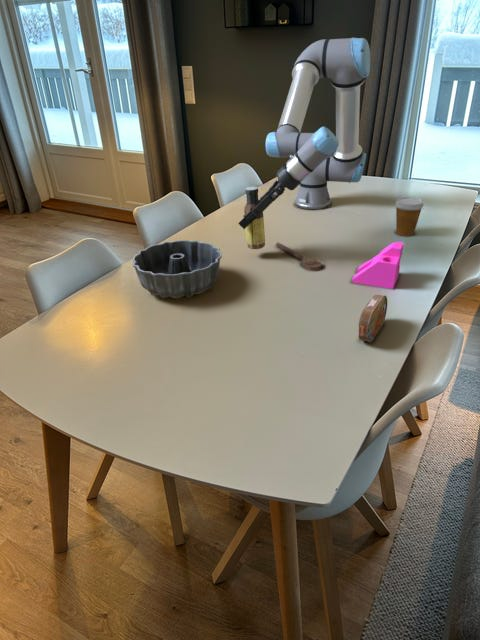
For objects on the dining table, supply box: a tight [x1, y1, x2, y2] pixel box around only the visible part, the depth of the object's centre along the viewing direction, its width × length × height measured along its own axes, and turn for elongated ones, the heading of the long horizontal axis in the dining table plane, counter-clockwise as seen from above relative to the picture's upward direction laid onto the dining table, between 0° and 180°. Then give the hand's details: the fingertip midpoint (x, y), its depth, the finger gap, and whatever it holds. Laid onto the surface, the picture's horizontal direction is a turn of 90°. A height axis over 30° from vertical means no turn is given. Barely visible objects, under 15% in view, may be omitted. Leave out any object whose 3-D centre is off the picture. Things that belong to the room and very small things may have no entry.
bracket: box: [351, 241, 404, 290], centre depth 139 cm, size 12×10×10 cm
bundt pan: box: [132, 239, 223, 299], centre depth 141 cm, size 26×26×10 cm
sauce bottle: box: [243, 185, 266, 250], centre depth 153 cm, size 6×6×20 cm
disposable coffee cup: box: [395, 196, 425, 237], centre depth 168 cm, size 10×10×12 cm
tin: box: [358, 294, 388, 343], centre depth 114 cm, size 15×3×8 cm, turn 148°
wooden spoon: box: [275, 242, 323, 271], centre depth 157 cm, size 24×5×2 cm, turn 29°
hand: (244, 222), depth 154 cm, fingers closed on sauce bottle, 6 cm apart
